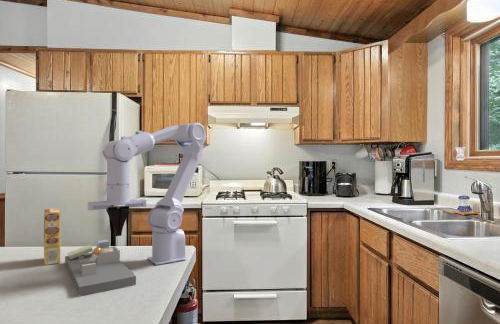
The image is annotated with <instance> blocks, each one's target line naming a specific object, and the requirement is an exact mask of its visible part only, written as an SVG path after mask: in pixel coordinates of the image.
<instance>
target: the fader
mask: <svg viewBox="0 0 500 324" xmlns="http://www.w3.org/2000/svg"><path fill="white" fill-rule="evenodd" d="M96 247H100V248H108V247H110V241H109V240H107V239H101V240H96Z"/></svg>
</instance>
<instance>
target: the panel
mask: <svg viewBox="0 0 500 324" xmlns="http://www.w3.org/2000/svg"><path fill="white" fill-rule="evenodd" d="M108 248H114V251H110V252H103V253H101V254H100V255H98V256H97V258H96V260H95V261H94V263H91V264H87V263H88V262H89V260H90V258H91V256H92V255H93V251H91V252H89V253H86V254H84V255H81V256H78V257H76V258H73V259H70V258H69V256H68V255H66V256H64V264H65V266H66V269H67V270H68V273H69V275H70V278H71V280H72V283H73V285H74V287H75V289H76V291H77V294H78V296H79V297H81V296H82V297H83V296H88V295H92V294H97V293H102V292H103V293H104V292H108V291H112V290H116V289H122V288H126V287H131V286H136V285H137V276H136V275H135V274H134V273H133V272H132V271H131V270H130V269H129V268H128V267H127V266H126V265H125V264H124V263H123V262H121V259H120V257H121V254H120V253H121V251H120V249H119V248H118V247H116V246H109V247H108ZM101 249H102V248H101Z"/></svg>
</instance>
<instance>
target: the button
mask: <svg viewBox="0 0 500 324" xmlns="http://www.w3.org/2000/svg"><path fill="white" fill-rule="evenodd" d="M110 251H114V248H102V252H101V253H103V252H110Z"/></svg>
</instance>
